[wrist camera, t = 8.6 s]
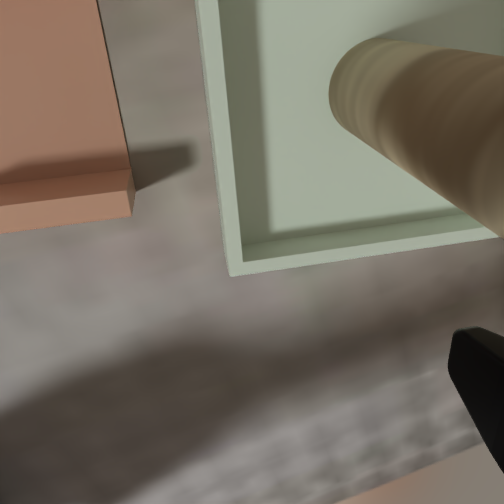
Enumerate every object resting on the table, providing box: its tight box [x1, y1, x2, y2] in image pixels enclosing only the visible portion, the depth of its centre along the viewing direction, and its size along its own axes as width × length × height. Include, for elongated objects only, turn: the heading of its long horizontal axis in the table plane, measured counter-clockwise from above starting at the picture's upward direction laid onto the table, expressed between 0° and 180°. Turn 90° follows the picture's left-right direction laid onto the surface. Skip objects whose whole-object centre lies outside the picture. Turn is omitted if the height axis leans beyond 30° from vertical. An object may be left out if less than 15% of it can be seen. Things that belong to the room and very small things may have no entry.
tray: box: [195, 0, 504, 277], centre depth 17 cm, size 13×13×2 cm
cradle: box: [0, 0, 136, 234], centre depth 16 cm, size 8×6×3 cm
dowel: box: [328, 38, 504, 240], centre depth 13 cm, size 4×4×10 cm
